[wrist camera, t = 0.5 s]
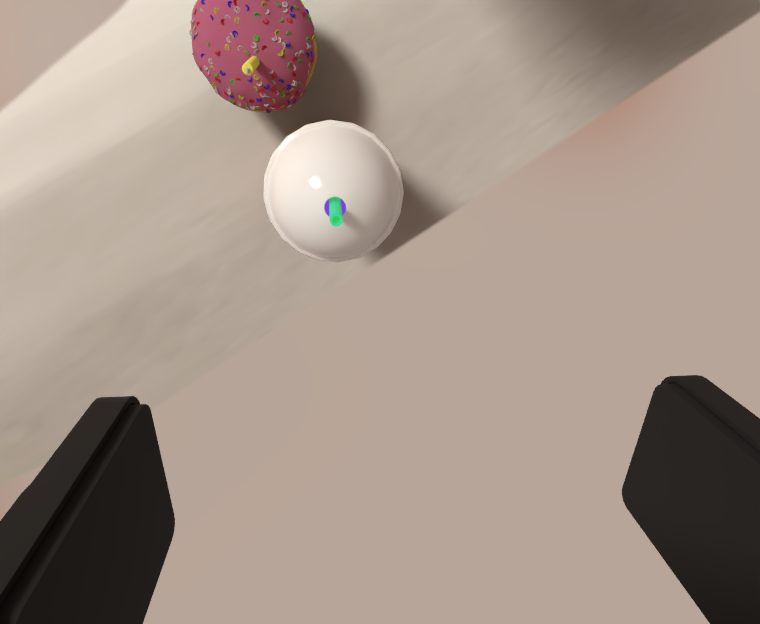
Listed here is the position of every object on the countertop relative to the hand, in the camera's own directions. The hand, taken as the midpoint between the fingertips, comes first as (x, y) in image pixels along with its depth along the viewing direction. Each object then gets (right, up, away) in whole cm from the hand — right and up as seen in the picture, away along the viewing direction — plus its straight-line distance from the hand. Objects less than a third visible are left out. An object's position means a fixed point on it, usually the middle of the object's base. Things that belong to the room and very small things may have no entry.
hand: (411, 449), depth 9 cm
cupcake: (-10, +23, +28) cm, 37 cm away
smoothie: (-5, +15, +32) cm, 36 cm away
